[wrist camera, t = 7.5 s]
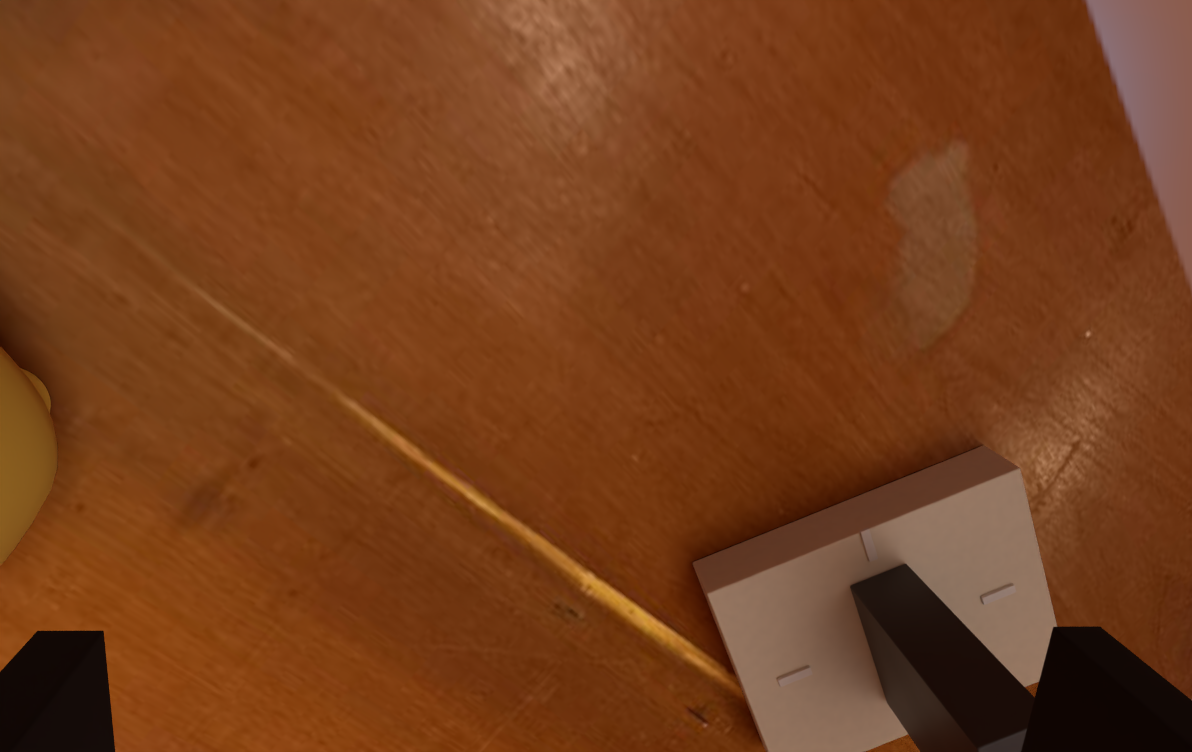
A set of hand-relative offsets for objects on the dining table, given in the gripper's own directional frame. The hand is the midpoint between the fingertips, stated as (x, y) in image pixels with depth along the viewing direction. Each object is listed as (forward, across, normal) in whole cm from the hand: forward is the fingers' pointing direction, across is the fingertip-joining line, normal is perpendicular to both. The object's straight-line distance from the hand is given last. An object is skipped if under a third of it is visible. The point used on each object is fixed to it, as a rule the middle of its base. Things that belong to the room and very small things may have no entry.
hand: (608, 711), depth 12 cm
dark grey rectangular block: (+18, +15, -10) cm, 25 cm away
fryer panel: (+20, +15, -10) cm, 27 cm away
